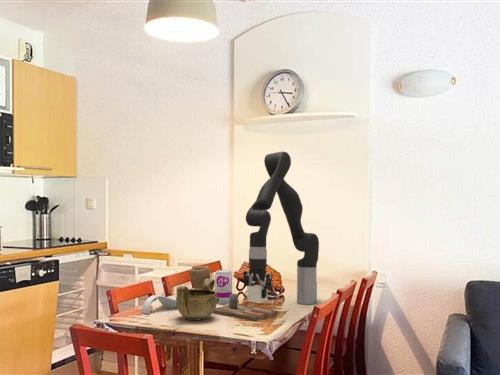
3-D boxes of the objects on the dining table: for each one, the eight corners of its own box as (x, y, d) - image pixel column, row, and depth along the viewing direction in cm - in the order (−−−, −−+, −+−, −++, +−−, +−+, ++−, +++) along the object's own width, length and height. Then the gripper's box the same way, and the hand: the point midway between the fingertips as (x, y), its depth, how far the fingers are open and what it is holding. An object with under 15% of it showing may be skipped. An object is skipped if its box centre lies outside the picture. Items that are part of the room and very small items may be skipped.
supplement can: (229, 304, 243) (230, 272, 243) (212, 304, 245) (212, 271, 245) (233, 301, 251) (234, 270, 251) (217, 300, 252) (217, 269, 253)
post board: (234, 306, 238) (234, 290, 239) (277, 314, 224) (277, 296, 224) (210, 312, 226) (210, 295, 226) (255, 321, 211) (255, 302, 211)
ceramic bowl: (195, 311, 228) (196, 276, 229) (228, 316, 220) (229, 280, 220) (162, 321, 209) (163, 283, 209) (197, 327, 200) (198, 287, 201)
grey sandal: (171, 304, 245) (171, 288, 245) (191, 307, 238) (191, 291, 238) (135, 313, 224) (135, 296, 225) (156, 316, 218) (156, 299, 218)
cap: (255, 299, 225) (255, 284, 225) (267, 300, 221) (267, 286, 221) (247, 301, 220) (247, 286, 220) (258, 302, 216) (258, 288, 217)
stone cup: (184, 296, 262) (184, 266, 263) (198, 293, 272) (199, 264, 273) (209, 299, 254) (209, 268, 255) (222, 296, 265) (223, 266, 265)
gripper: (276, 257, 220) (276, 298, 219) (249, 255, 228) (249, 293, 228) (266, 259, 214) (265, 300, 213) (238, 256, 222) (238, 296, 222)
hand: (257, 297), depth 221 cm, fingers closed on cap, 6 cm apart
